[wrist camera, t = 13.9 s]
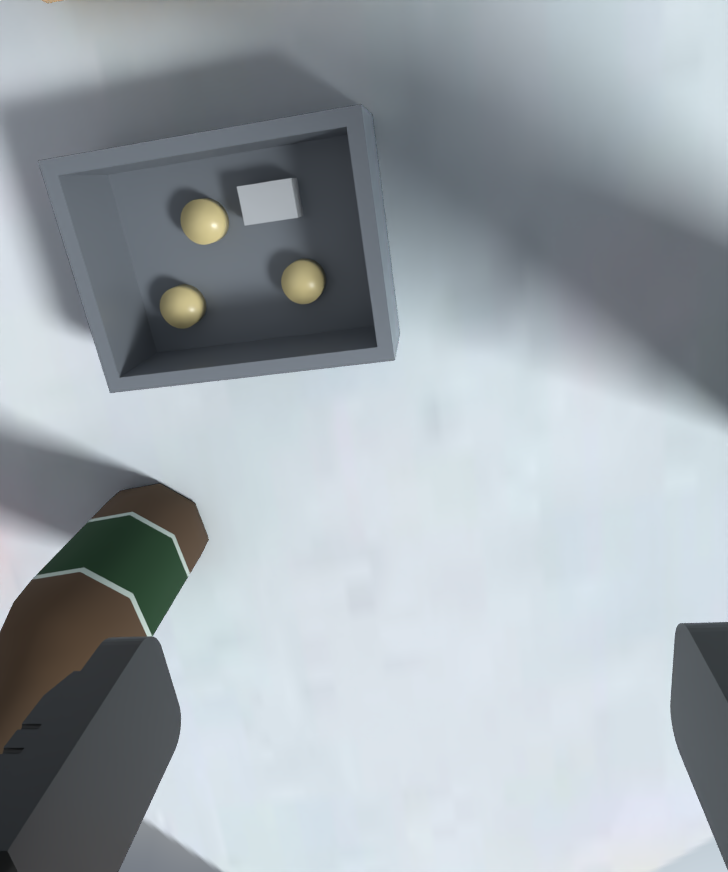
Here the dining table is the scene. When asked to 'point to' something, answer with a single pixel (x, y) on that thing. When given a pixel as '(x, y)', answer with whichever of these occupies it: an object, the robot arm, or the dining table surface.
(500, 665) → the dining table surface
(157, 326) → the tub
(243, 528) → the dining table surface
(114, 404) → the dining table surface
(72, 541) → the beer bottle
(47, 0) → the lid
